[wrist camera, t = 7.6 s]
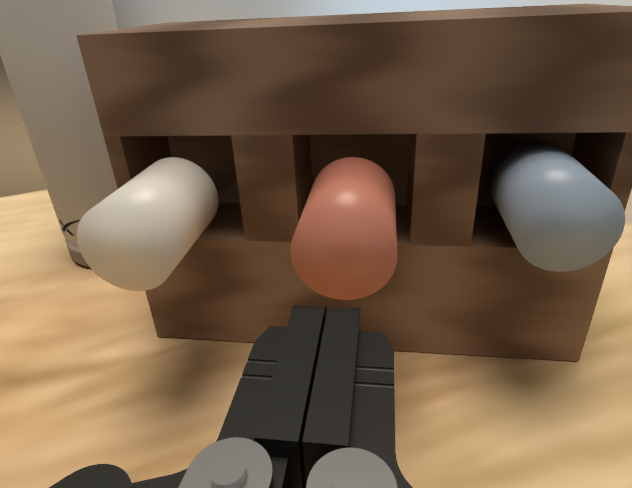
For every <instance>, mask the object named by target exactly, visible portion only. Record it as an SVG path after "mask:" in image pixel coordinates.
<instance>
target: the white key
mask: <svg viewBox="0 0 632 488" xmlns="http://www.w3.org/2000/svg"><path fill="white" fill-rule="evenodd" d="M218 202H219V200H218V193H217V189H216V187H215V185H214V183H213V181H212V179H211V178H210V176H209V175H208V174H207V173H206V172H205V171H204V170H203V169H202V168H201V167H199V166H198V165H196V164H195V163H193V162H191V161H189V160H186V159H183V158H177V157H168V158H163V159H160V160H158V161H156V162H155V163H153V164H152V165H150V166H149V167H148V168H146V169H145V170H144V171H142V172H141V173H139V174H138V175H137V176H135V177H134V178H133V179H131V180H130V181H128V182H127V183H126V184H124V185H123V186H122V187H120V188H119V189H117V190H116V191H115V192H113V193H112V194H111V195H109V196H108V197H106V198H105V199H104V200H102V201H101V202H100V203H98V204H97V205H96V206H94V207H93V208H91V209H90V210H89V211H88V212H86V213H85V214H84V216H83V217H82V218H81V220H80V222H79V225H78V229H77V242H78V246H79V249H80V252H81V254H82V256H83V258H84V260H85V261H86V262H87V264H88V265H89V266H90V268H91V269H92V270H93V271H94V272H95V273H96V274H97V275H99V276H100V277H101V278H102V279H104V280H105V281H107V282H109V283H111V284H112V285H115V286H117V287H119V288H123V289H126V290H131V291H145V290H150V289H153V288H156V287H158V286H159V285H161V284H162V283H163V282H164V281H165V280H166V279H167V278H168V277H169V275H170V274H171V273H172V271H173V270H174V269H175V267H176V266H177V265H178V264H179V262H180V261H181V260H182V258H183V257H184V256H185V255H186V253H187V252H188V251H189V249H190V248H191V247H192V245H193V244H194V243H195V242H196V240H197V239H198V238H199V236H200V235H201V234H202V232H203V231H204V230H205V229H206V227H207V226H208V225H209V223H210V222H211V221H212V219H213V218H214V217H215V215H216V212H217V210H218Z"/></svg>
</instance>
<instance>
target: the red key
mask: <svg viewBox="0 0 632 488" xmlns="http://www.w3.org/2000/svg"><path fill="white" fill-rule="evenodd" d="M290 255H291V261H292V264H293V267H294V269H295V271H296V273H297V275H298V276H299V278H300V279H301V280H302V281H303V282H304V283H305V284H306V285H307V286H308V287H309V288H311V289H312V290H314V291H315V292H317V293H319V294H321V295H323V296H326V297H329V298H333V299H339V300H354V299H360V298H364V297H367V296H369V295H371V294H373V293H375V292H377V291H378V290H380V289H381V288H382V287H383V286H385V285H386V283H387V282H388V281H389V280H390V278H391V277H392V275H393V273H394V271H395V268H396V264H397V233H396V207H395V190H394V186H393V183H392V181H391V179H390V177H389V175H388V174H387V173H386V172H385V171H384V169H382V168H381V167H380V166H379V165H377V164H376V163H374V162H372V161H370V160H367V159H364V158H359V157H346V158H341V159H338V160H336V161H333V162H331V163H330V164H328V165H327V166H326V167H324V168H323V169H322V170H321V172H320V173H319V174H318V176H317V177H316V179H315V181H314V184H313V186H312V189H311V191H310V194H309V197H308V199H307V202H306V204H305V207H304V210H303V212H302V215H301V217H300V220H299V223H298V225H297V228H296V230H295V233H294V235H293V238H292V242H291V248H290Z"/></svg>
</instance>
